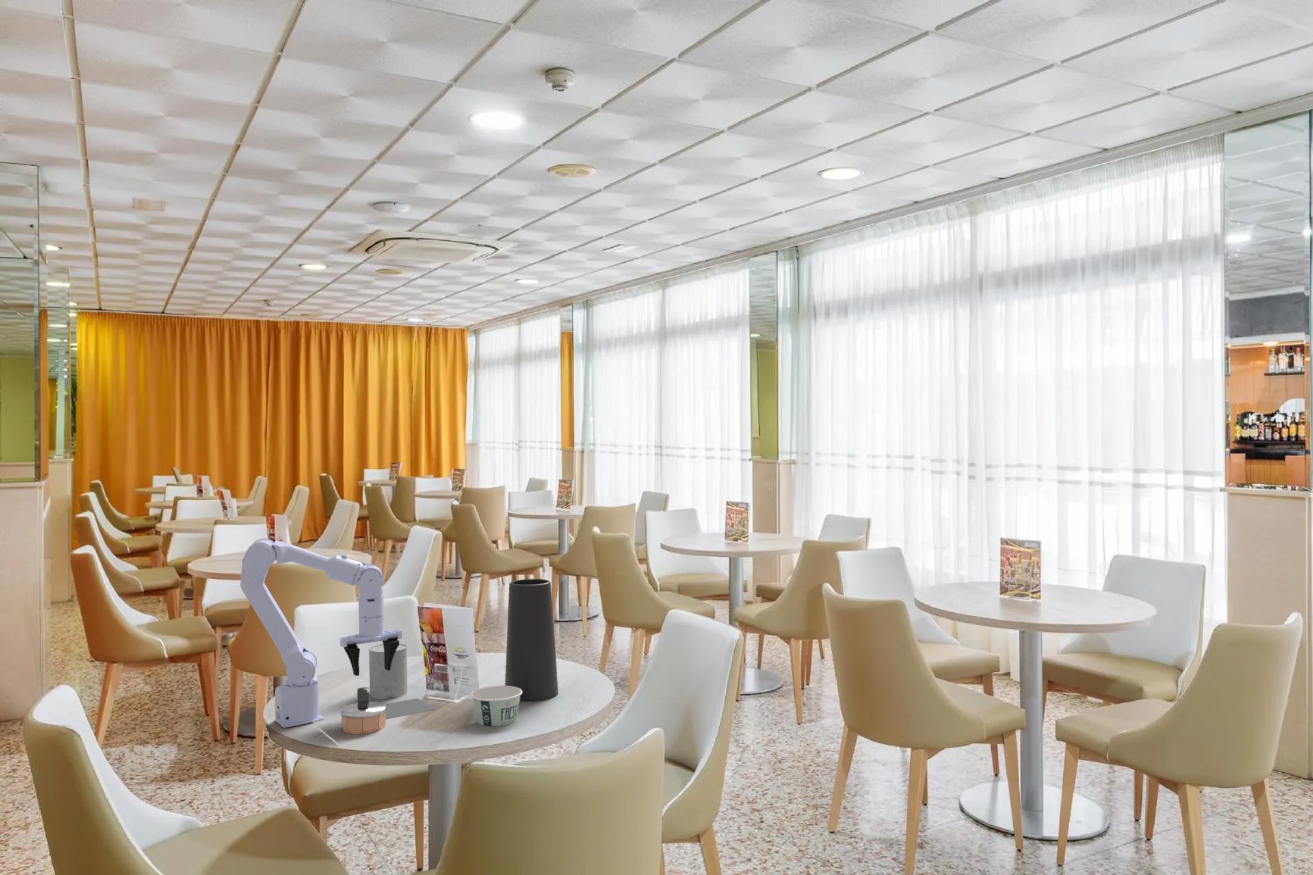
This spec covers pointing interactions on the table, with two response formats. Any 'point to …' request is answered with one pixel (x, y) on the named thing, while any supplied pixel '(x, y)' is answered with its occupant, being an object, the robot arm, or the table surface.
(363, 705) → the lid
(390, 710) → the mat
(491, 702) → the food container
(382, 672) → the grey concrete cylinder
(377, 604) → the robot arm
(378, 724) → the bowl
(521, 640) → the vase
